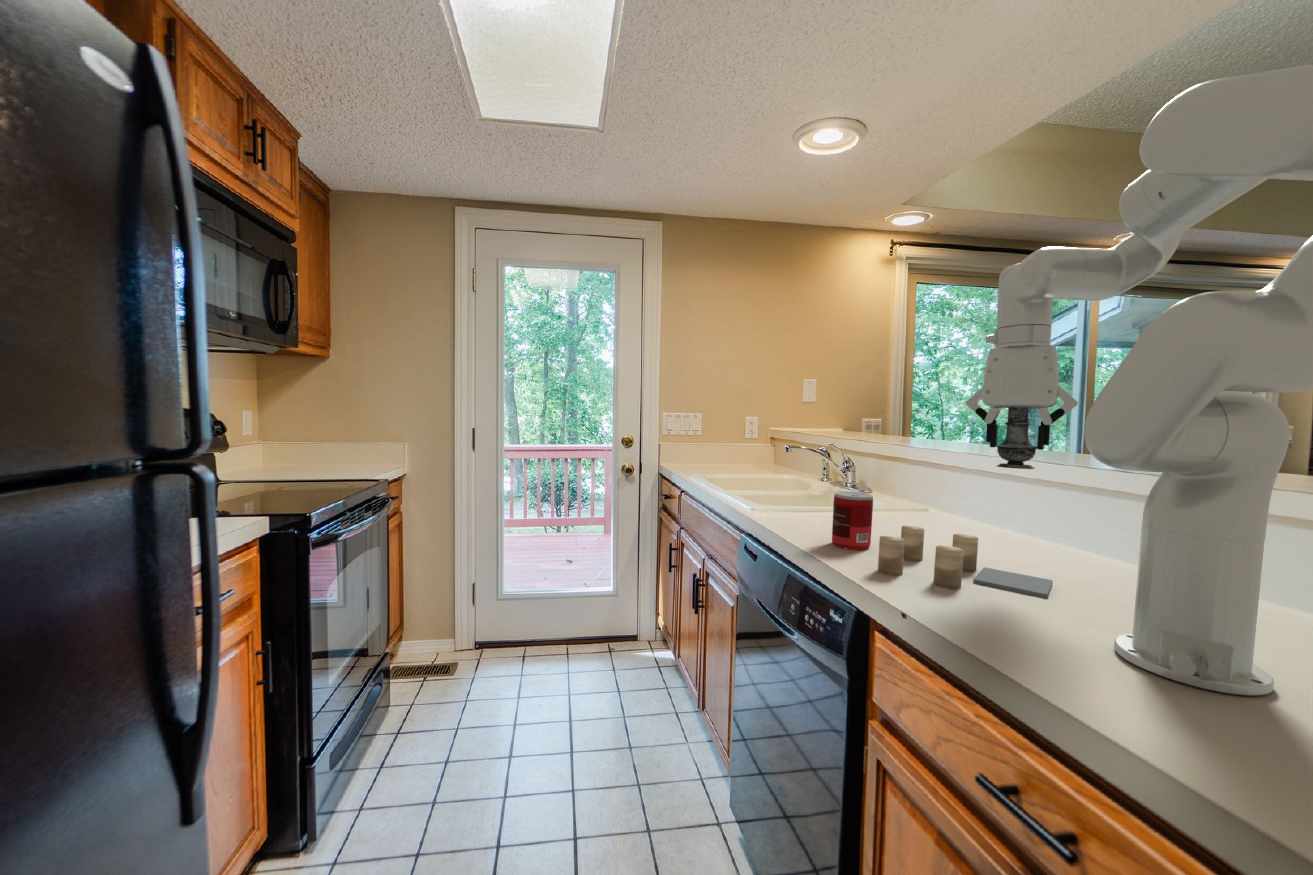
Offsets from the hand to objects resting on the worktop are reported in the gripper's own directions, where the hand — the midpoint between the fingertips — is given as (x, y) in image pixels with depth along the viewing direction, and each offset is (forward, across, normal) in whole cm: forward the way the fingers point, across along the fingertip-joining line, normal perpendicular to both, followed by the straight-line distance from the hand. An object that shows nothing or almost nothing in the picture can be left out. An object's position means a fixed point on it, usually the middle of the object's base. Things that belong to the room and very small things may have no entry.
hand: (1016, 447), depth 87 cm
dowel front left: (+23, -17, -8) cm, 30 cm away
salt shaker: (+4, 0, 0) cm, 4 cm away
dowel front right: (+23, -8, -8) cm, 26 cm away
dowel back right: (+23, -7, +5) cm, 24 cm away
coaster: (+23, 0, +1) cm, 23 cm away
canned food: (+23, -28, +6) cm, 37 cm away
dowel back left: (+23, -16, +5) cm, 28 cm away
